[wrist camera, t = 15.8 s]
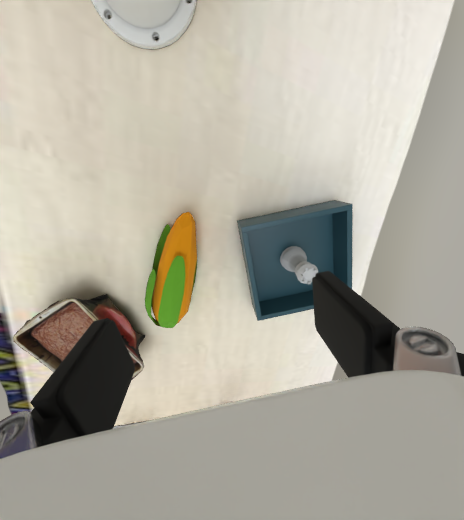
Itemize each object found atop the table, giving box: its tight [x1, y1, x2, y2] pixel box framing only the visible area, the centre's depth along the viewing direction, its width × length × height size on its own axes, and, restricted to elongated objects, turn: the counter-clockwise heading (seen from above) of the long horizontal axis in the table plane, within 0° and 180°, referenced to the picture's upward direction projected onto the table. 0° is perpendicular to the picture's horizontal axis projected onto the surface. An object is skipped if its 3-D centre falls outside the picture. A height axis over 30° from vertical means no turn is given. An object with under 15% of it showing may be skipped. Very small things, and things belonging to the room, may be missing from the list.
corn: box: [145, 212, 197, 328], centre depth 36 cm, size 7×8×20 cm
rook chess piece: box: [280, 246, 318, 284], centre depth 37 cm, size 4×4×8 cm
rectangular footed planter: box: [13, 294, 145, 380], centre depth 39 cm, size 14×18×10 cm
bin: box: [237, 200, 352, 321], centre depth 38 cm, size 17×17×5 cm
